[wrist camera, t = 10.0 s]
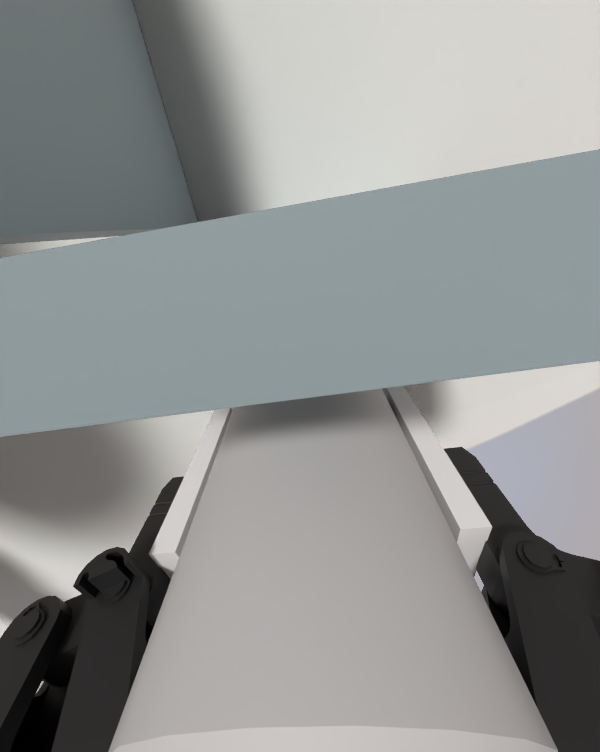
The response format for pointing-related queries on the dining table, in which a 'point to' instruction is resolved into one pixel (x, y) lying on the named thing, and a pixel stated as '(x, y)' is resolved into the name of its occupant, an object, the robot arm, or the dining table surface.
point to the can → (324, 604)
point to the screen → (251, 256)
